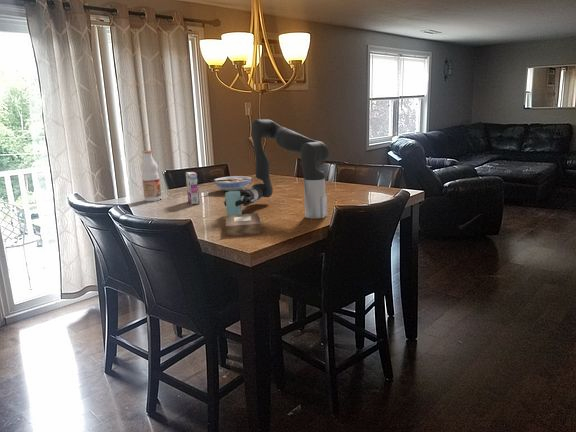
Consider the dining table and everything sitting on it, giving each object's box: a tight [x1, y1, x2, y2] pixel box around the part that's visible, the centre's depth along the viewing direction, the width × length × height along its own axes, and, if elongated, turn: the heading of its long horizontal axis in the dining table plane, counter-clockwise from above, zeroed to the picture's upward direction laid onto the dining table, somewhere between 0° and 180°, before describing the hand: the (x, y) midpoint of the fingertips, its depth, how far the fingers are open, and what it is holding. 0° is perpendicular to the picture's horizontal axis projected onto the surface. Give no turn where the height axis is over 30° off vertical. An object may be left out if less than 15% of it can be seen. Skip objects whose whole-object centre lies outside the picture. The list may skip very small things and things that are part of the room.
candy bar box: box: [185, 171, 200, 206], centre depth 240 cm, size 11×5×16 cm, turn 21°
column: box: [224, 190, 243, 216], centre depth 204 cm, size 5×5×12 cm
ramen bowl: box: [209, 175, 252, 192], centre depth 271 cm, size 25×23×8 cm
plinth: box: [225, 212, 262, 237], centre depth 185 cm, size 14×18×4 cm
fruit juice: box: [140, 150, 163, 202], centre depth 252 cm, size 9×9×28 cm
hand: (230, 204), depth 201 cm, fingers closed on column, 5 cm apart
